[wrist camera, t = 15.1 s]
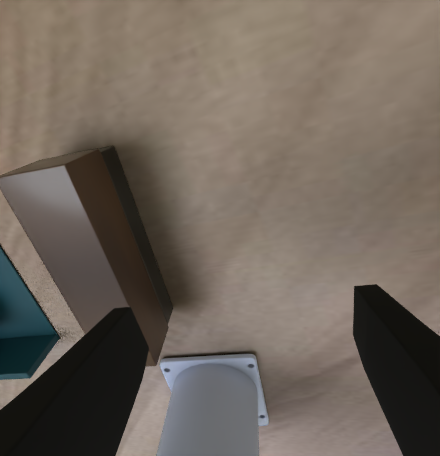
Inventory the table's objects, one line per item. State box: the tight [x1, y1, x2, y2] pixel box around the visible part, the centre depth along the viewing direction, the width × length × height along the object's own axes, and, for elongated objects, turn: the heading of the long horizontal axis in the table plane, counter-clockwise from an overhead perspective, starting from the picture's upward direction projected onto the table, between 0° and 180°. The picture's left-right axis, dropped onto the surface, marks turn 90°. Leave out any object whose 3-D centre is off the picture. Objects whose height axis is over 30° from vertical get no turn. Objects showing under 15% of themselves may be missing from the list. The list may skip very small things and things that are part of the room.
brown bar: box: [0, 146, 173, 366], centre depth 16 cm, size 12×3×5 cm, turn 11°
